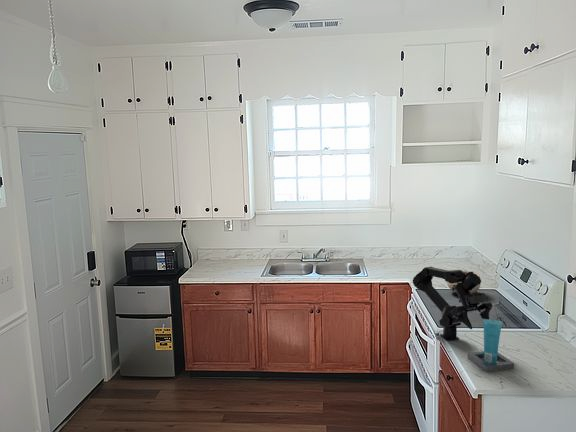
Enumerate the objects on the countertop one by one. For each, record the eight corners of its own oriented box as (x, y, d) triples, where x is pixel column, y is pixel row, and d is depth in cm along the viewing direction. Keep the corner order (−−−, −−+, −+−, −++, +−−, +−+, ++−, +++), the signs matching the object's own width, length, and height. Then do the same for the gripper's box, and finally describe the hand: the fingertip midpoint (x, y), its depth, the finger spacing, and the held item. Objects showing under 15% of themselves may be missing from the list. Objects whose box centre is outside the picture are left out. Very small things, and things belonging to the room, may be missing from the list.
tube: (498, 361, 206) (501, 319, 203) (500, 367, 202) (503, 323, 198) (480, 359, 208) (482, 317, 205) (480, 364, 204) (483, 321, 201)
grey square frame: (467, 358, 209) (467, 353, 209) (493, 355, 212) (494, 349, 212) (486, 372, 197) (486, 366, 196) (513, 368, 200) (514, 363, 199)
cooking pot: (484, 301, 280) (485, 281, 278) (450, 300, 283) (451, 280, 281) (474, 288, 304) (475, 269, 302) (443, 287, 307) (444, 268, 305)
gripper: (456, 289, 210) (472, 322, 202) (491, 284, 216) (508, 317, 207) (444, 300, 219) (459, 333, 210) (478, 295, 225) (493, 327, 216)
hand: (480, 327), depth 211 cm, fingers open, 9 cm apart
